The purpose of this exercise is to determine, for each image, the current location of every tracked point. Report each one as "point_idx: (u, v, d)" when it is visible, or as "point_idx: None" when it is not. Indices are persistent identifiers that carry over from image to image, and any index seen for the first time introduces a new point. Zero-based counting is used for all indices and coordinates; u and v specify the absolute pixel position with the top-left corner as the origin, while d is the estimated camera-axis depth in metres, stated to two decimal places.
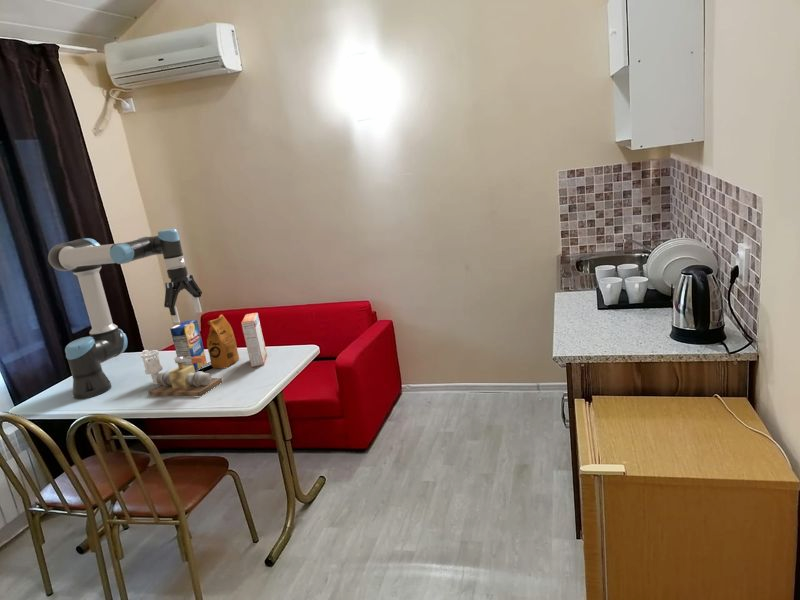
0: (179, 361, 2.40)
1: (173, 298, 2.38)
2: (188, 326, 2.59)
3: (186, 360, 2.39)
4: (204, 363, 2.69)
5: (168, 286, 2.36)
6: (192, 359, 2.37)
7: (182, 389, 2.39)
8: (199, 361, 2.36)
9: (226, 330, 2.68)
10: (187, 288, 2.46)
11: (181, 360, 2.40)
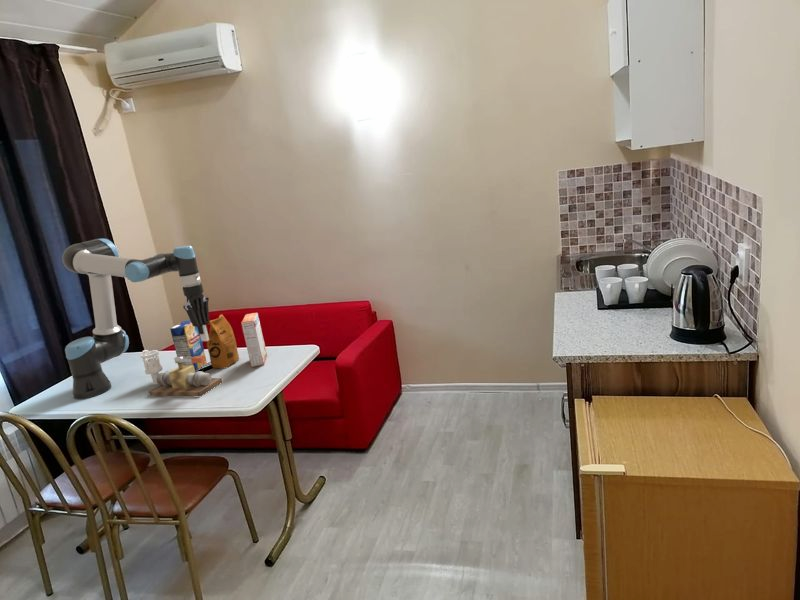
0: (179, 361, 2.40)
1: (198, 318, 2.38)
2: (188, 326, 2.59)
3: (186, 360, 2.39)
4: (204, 363, 2.69)
5: (187, 309, 2.34)
6: (192, 359, 2.37)
7: (182, 389, 2.39)
8: (199, 361, 2.36)
9: (226, 330, 2.68)
10: (199, 308, 2.40)
11: (181, 360, 2.40)
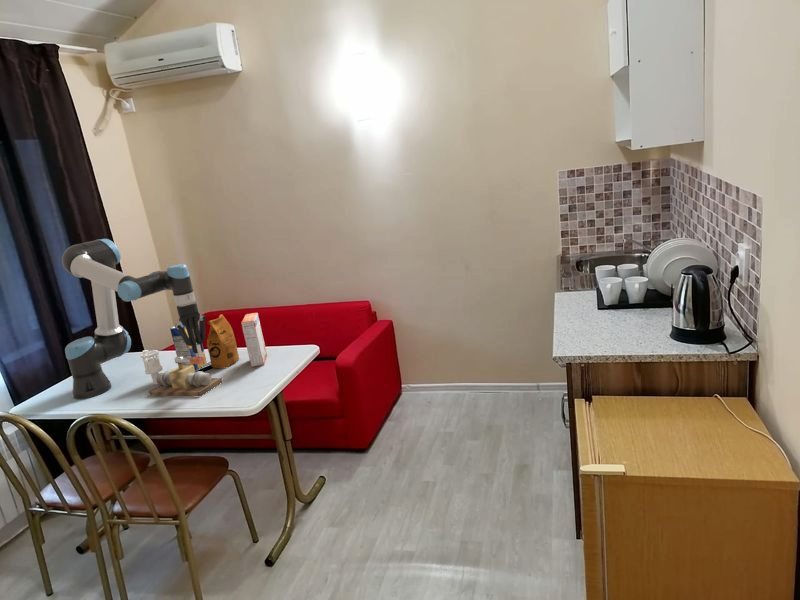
0: (179, 361, 2.40)
1: (191, 338, 2.35)
2: None
3: (185, 360, 2.39)
4: (204, 363, 2.69)
5: (178, 329, 2.31)
6: (190, 360, 2.37)
7: (182, 389, 2.39)
8: (197, 362, 2.35)
9: (226, 330, 2.68)
10: (194, 328, 2.36)
11: (180, 360, 2.40)
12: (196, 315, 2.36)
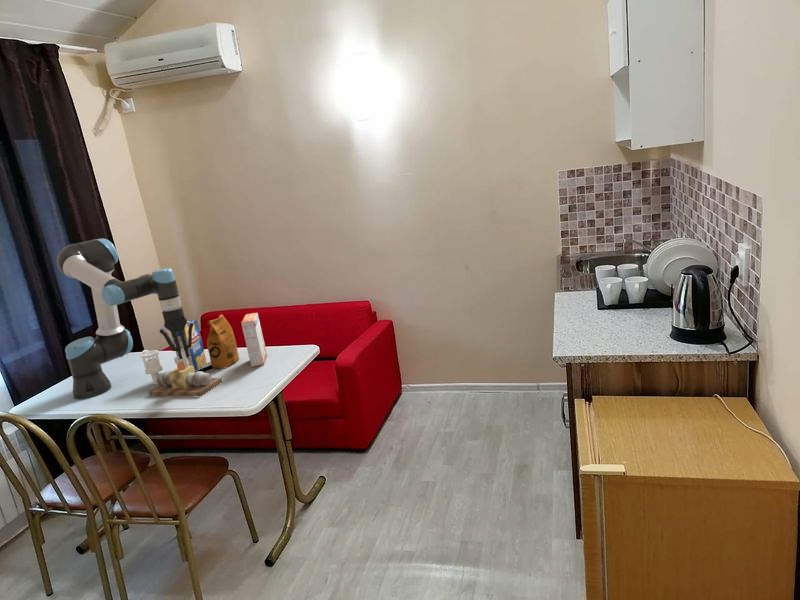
0: (176, 361, 2.40)
1: (175, 343, 2.30)
2: None
3: (177, 363, 2.37)
4: (204, 363, 2.69)
5: None
6: None
7: (182, 389, 2.39)
8: None
9: (226, 330, 2.68)
10: (180, 333, 2.31)
11: (177, 361, 2.39)
12: (181, 321, 2.29)
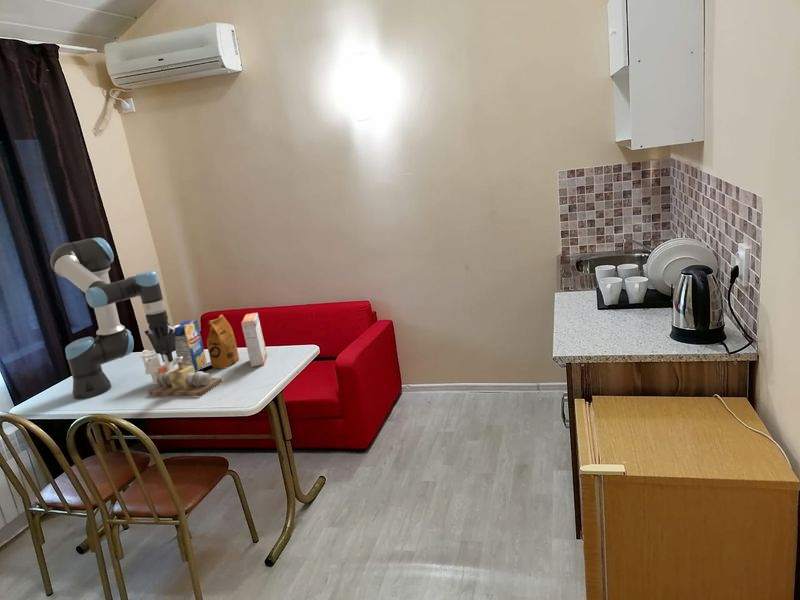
0: None
1: None
2: (188, 326, 2.59)
3: None
4: (204, 363, 2.69)
5: None
6: None
7: (182, 389, 2.39)
8: None
9: (226, 330, 2.68)
10: None
11: None
12: (162, 326, 2.26)
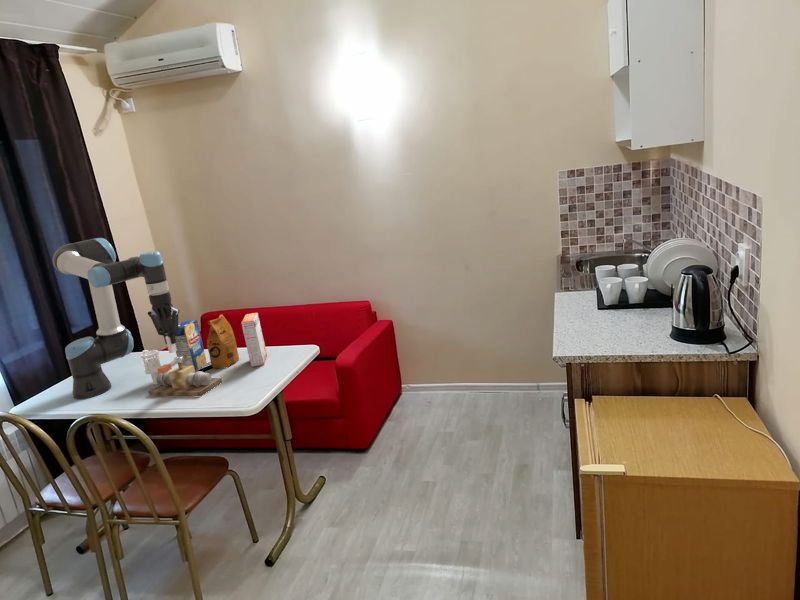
0: None
1: None
2: (188, 326, 2.59)
3: None
4: (204, 363, 2.69)
5: None
6: None
7: (182, 389, 2.39)
8: None
9: (226, 330, 2.68)
10: None
11: None
12: (165, 307, 2.23)
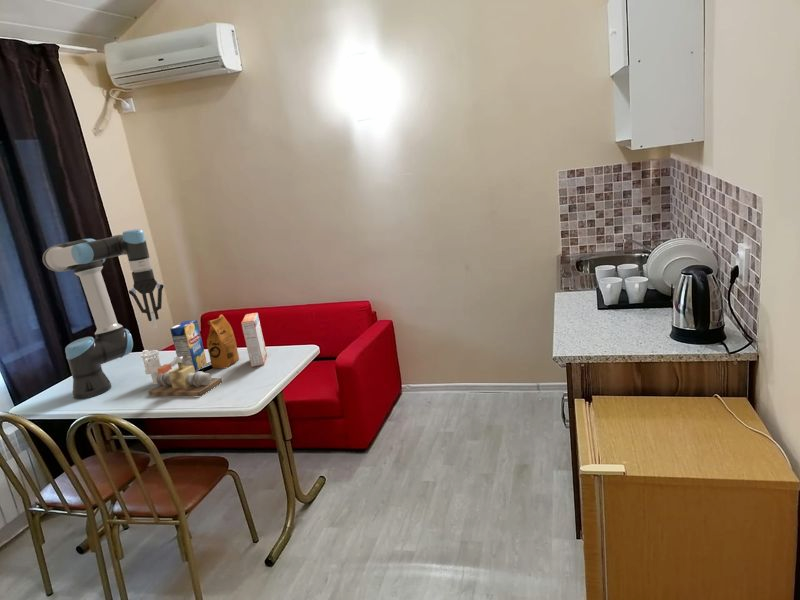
0: None
1: None
2: (188, 326, 2.59)
3: None
4: (204, 363, 2.69)
5: (131, 294, 2.28)
6: None
7: (182, 389, 2.39)
8: None
9: (226, 330, 2.68)
10: None
11: None
12: (151, 282, 2.30)
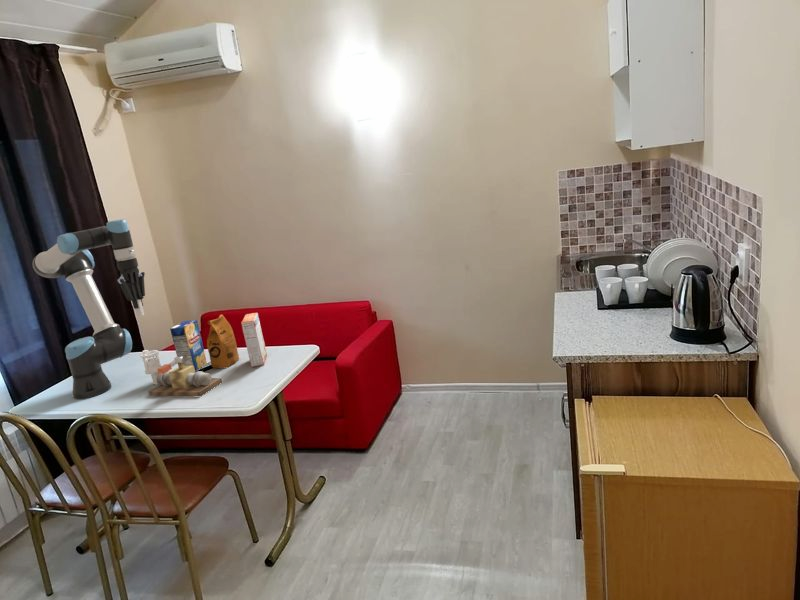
0: None
1: (132, 292, 2.38)
2: (188, 326, 2.59)
3: None
4: (204, 363, 2.69)
5: (121, 283, 2.33)
6: None
7: (182, 389, 2.39)
8: None
9: (226, 330, 2.68)
10: (134, 283, 2.40)
11: None
12: (136, 270, 2.40)
